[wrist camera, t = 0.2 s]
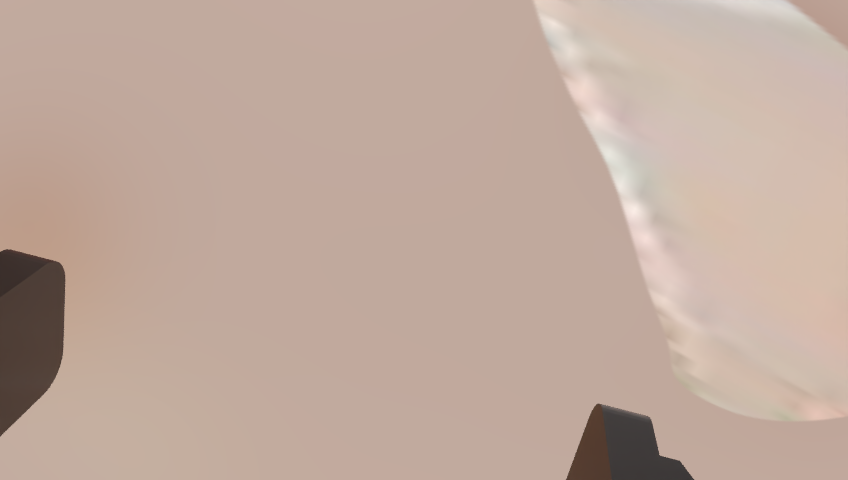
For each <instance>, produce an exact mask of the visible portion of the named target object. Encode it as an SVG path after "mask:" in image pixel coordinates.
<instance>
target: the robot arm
mask: <svg viewBox="0 0 848 480" xmlns="http://www.w3.org/2000/svg"><path fill="white" fill-rule="evenodd" d="M64 304H65V272H64V269H63V266H62V265H61V264H60V263H59V262H56V261H53V260H49V259H45V258H41V257H37V256H33V255H29V254H25V253H22V252H18V251H13V250H8V249H7V250H3V251H1V252H0V436H1V435H2V434H3V433H4V432H5V431H6V430H7V429H8V428H9V427H10V426H11V425H12V424H13V423H14V422H16V421H17V419H19V418H20V417H21V416H22V415H23V414H24V413H25V412H26V411H27V410H28V409H29V408H30V407H31V406H32V405H33V404H34V403H35V402H36V401H37V400H38V399H39V398H40V397H41V396H42V395H43V394H44V393H45V392H46V391H47V390H48V388H49V387H50V386H51V384H52V382H53V381H54V379H55V377H56V375H57V373H58V370H59V367H60V364H61V360H62V355H63V337H64ZM566 480H694V479H693V478H692V476H691V475H690V474H689V472H688V471H687V470H686V469H685V467H684V466H683V465H682V463H681V462H680V461H678V460H674V459H670V458H666V457H662V456H660V455H659V451H658V447H657V443H656V438H655V434H654V429H653V425H652V421H651V419H650V417H648V416H645V415H641V414H637V413H633V412H629V411H625V410H622V409H618V408H614V407H610V406H606V405H602V404H597V405H596V406H595V407H594V409H593V410H592V412H591V414H590V417H589V419H588V422H587V425H586V428H585V430H584V433H583V436H582V438H581V441H580V444H579V446H578V449H577V452H576V454H575V457H574V460H573V463H572V466H571V468H570V471H569V473H568V476H567V479H566Z"/></svg>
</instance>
